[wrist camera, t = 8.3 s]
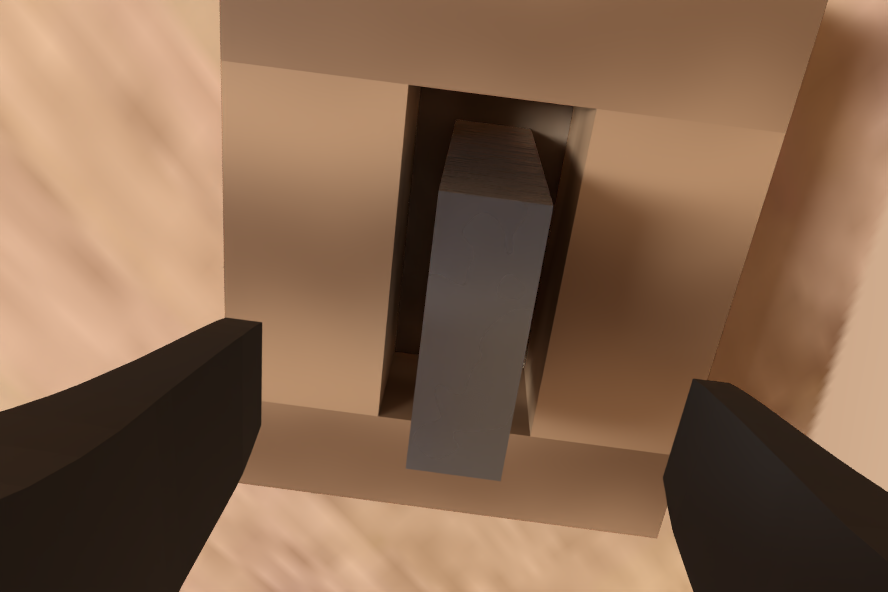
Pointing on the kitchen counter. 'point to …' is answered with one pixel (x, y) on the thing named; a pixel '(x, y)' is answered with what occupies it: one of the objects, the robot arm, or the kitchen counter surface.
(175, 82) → the kitchen counter surface
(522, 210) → the grey rectangular block
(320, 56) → the slotted wooden block
